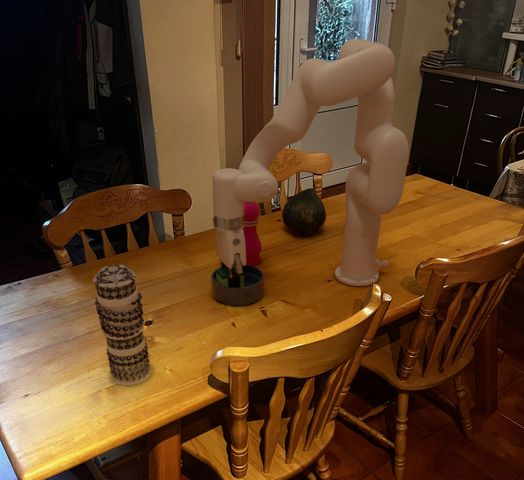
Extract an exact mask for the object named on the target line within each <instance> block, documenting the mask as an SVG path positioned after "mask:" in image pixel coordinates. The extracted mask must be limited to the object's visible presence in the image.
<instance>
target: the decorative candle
mask: <svg viewBox="0 0 524 480" xmlns="http://www.w3.org/2000/svg"><path fill="white" fill-rule="evenodd" d="M136 278H137V273H135V271H134V270H132V269H130V268H128V267H127V265H123V264H109V265H106V266H104V267H101V268H100V269H99V270H98V271H97V273H96V274H95V275H94V276H93V279H92V282H93V283H94V286H95V290H96V297H95V301H94V305H95V309H96V311H97V312H96V314H97V316H98V320H99V324H100V329H101V331H102V334H103V336H104V337H105V338H106V355H107V359H108V367H109V369H110V374H111V378H112V380H113V382H115V383H116V384H119V385H121V386H134V385H138V384H141V383H143V382H144V381H146V380H147V379H148V378H149V377H150V375H151V373H152V372H151V371H152V369H151V364H150V358H149V357H150V356H149V351H148V350H149V349H148V343H147V342H146V338H145V337H146V336H145V335H144V329H145V319H144V318H143V315H144V310H143V307H144V305H143V303H142V302H141V301H142V299H143V296H142V294H141V293H140V292H138V287H137V285H136V280H135V279H136Z"/></svg>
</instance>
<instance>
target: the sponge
mask: <svg viewBox="0 0 524 480" xmlns="http://www.w3.org/2000/svg"><path fill="white" fill-rule="evenodd" d="M215 270H216V269H215ZM235 270H236V268H235V269H232V272H233V271H235ZM240 275H241V276H240V287H244V272H243V273H242V274H240ZM228 277H229V270H228V268H224V269H219V270H216V279H217V283H218V284H220V285H223V286H226V287H228Z"/></svg>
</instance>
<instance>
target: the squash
mask: <svg viewBox="0 0 524 480" xmlns="http://www.w3.org/2000/svg"><path fill="white" fill-rule="evenodd" d="M281 218H282V222H283V224H284V226H285V227H286V228H287V229H288V230H291V233H292V234H293V235H294V236H301V235H303V236H309V235H311V234H312V233H317V232H319V231H320V230H321V228H322V227H323V226H324V224H325V222H326V220H327V214H326V208H325V204H324V202H323V201H322V199H321V197H320V196H319V195H318V193H317V191H316V190H315V189H314V187H313V188H312V187H311V188H310V187H309V188H305V189H303V190H301V191H299V192H297V193H296V194H295V195H293V196H292V197H290V198H289V199H288V200H287V201H286V203H285V204H284V206H283V209H282V213H281Z"/></svg>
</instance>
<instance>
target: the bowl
mask: <svg viewBox="0 0 524 480" xmlns="http://www.w3.org/2000/svg"><path fill="white" fill-rule="evenodd" d="M233 265H235V264H233ZM233 265H232V266H233ZM241 266H242V265H241ZM219 269H222V268H221V267H220V266H219V267H218V268H216V269H214V271H212V273H211V275H210V280H211V281H210V283H211V295H212V297H213V298H214V299H215V300H217V301H218V302H219V303H221V304H224V305H227V306H233V307H240V306H241V307H242V306H243V307H244V306H248V305H251V304H255V303H256V302H258V301H259V300H261V298H263V297H264V295H265V273H264V271H263V270H262V269H261V268H259V267H257V266H256V265H253V266H252V265H245V266H242V271H243V272H244V287H240V288H234V287H226V286H223V285H220V284H218V283H217V279H216V270H219Z"/></svg>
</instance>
